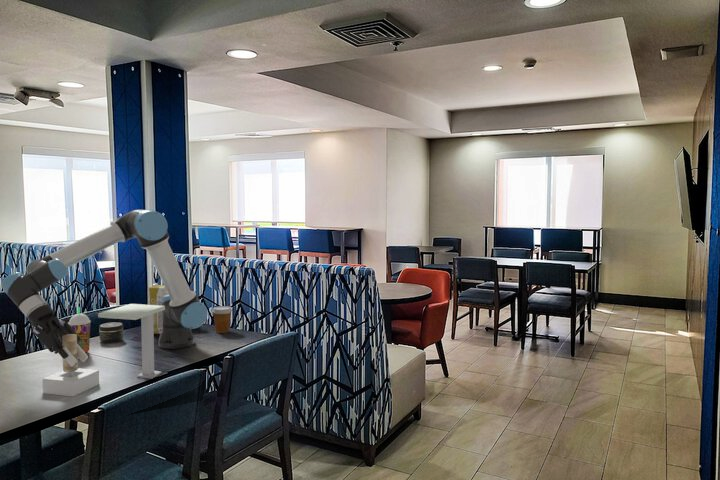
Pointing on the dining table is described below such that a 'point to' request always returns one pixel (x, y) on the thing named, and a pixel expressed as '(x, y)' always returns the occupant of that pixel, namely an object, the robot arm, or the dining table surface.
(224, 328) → the disposable coffee cup
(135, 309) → the white pedestal side table
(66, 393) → the socket
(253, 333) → the dining table surface
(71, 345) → the peg
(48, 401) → the dining table surface
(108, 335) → the jar
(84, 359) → the robot arm
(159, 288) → the juice carton
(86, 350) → the smoothie
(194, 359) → the dining table surface
